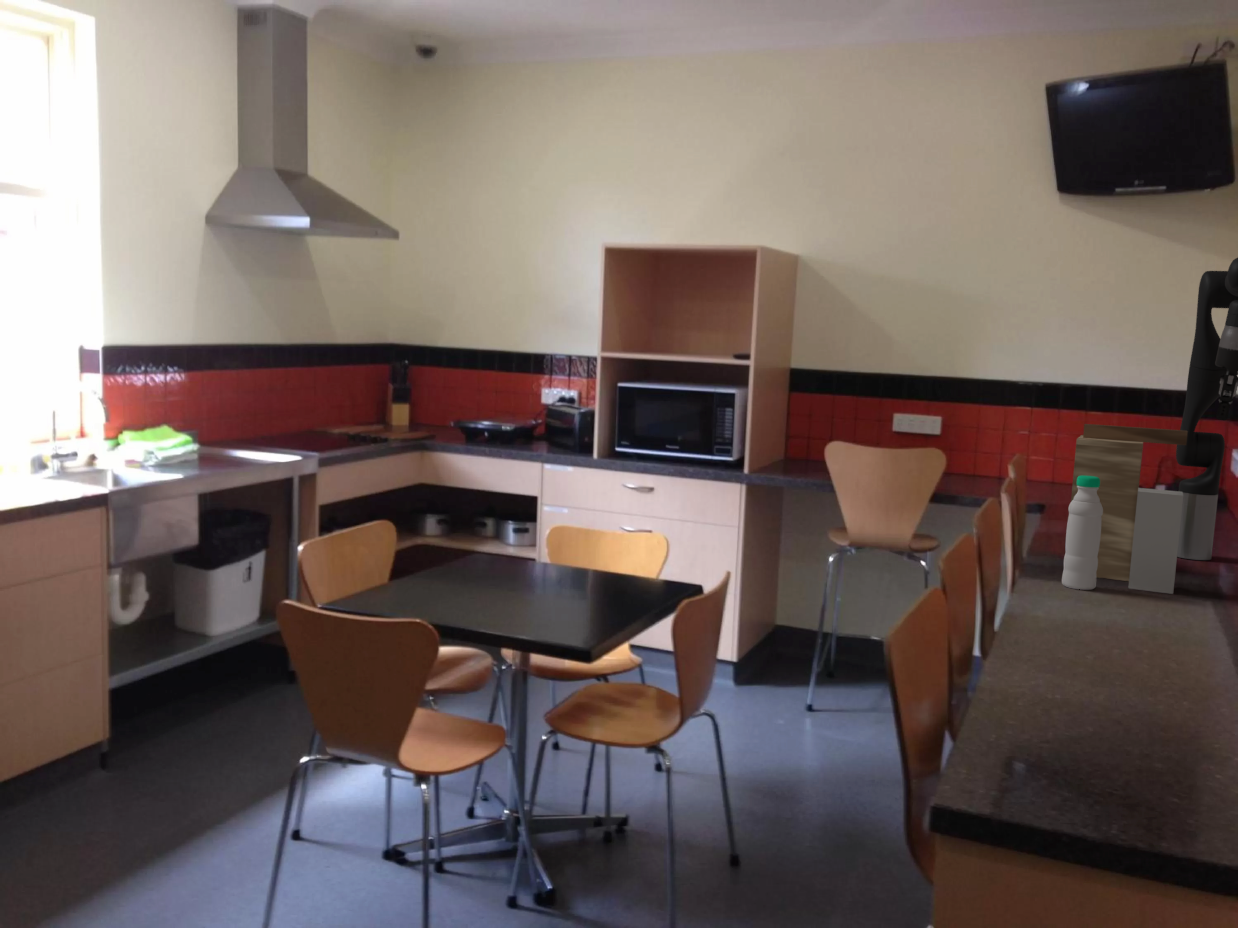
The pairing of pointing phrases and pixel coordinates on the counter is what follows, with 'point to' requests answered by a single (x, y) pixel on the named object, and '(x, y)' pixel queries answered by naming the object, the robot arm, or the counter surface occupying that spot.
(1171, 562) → the riser block
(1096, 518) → the white bottle
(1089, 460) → the wooden open box
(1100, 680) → the counter surface
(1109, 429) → the batten
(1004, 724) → the counter surface
